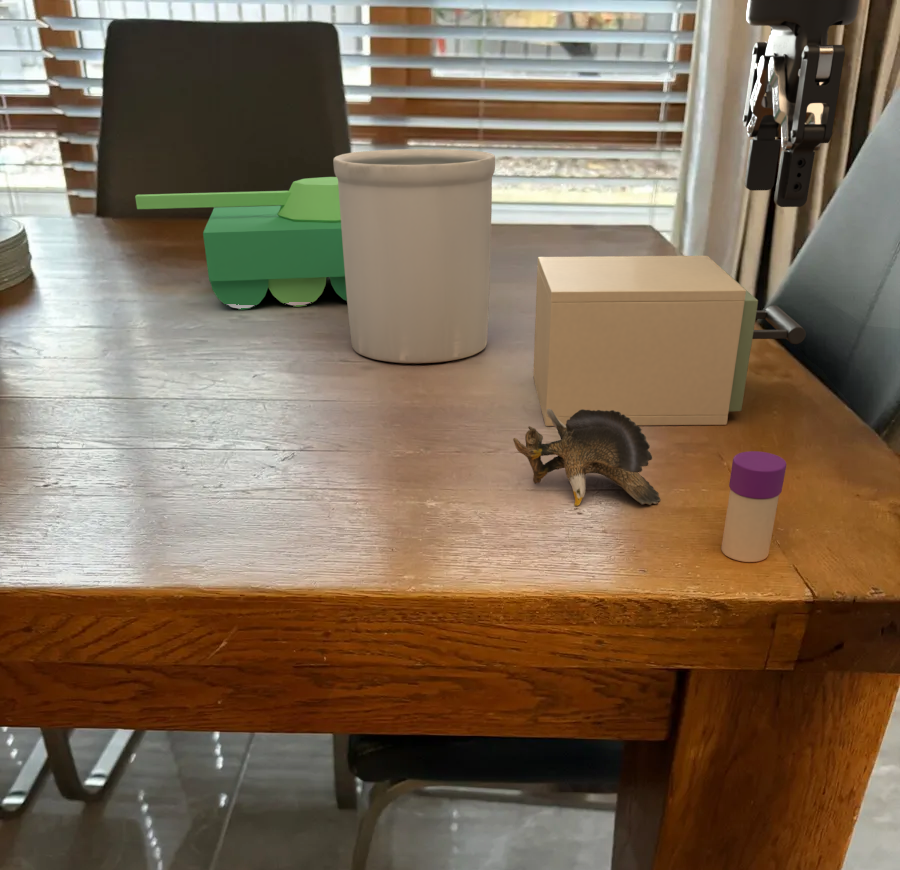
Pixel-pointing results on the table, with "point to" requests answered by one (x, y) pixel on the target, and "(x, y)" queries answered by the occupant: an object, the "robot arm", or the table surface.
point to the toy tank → (269, 240)
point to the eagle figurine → (594, 452)
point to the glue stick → (752, 505)
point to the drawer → (777, 319)
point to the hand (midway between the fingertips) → (773, 197)
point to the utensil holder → (416, 251)
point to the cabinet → (637, 338)
